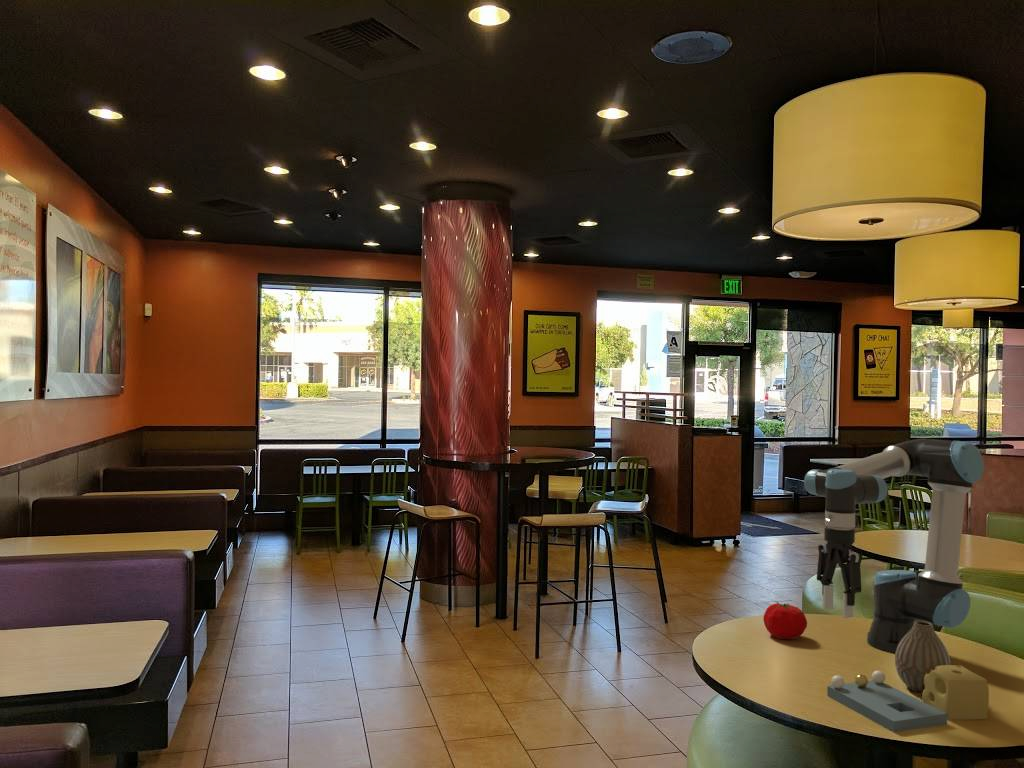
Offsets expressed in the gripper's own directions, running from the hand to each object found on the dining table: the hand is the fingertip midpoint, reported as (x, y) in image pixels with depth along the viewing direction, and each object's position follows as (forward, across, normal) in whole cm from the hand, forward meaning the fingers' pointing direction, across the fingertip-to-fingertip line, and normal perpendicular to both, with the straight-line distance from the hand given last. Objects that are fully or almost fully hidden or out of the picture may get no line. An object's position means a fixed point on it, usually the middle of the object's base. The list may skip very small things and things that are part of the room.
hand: (837, 612), depth 211 cm
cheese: (+19, +23, +16) cm, 34 cm away
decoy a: (+15, +8, +6) cm, 18 cm away
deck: (+19, +17, 0) cm, 26 cm away
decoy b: (+15, +8, -6) cm, 18 cm away
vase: (+19, +9, +20) cm, 29 cm away
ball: (+15, +9, 0) cm, 17 cm away
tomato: (+19, -37, +12) cm, 43 cm away
